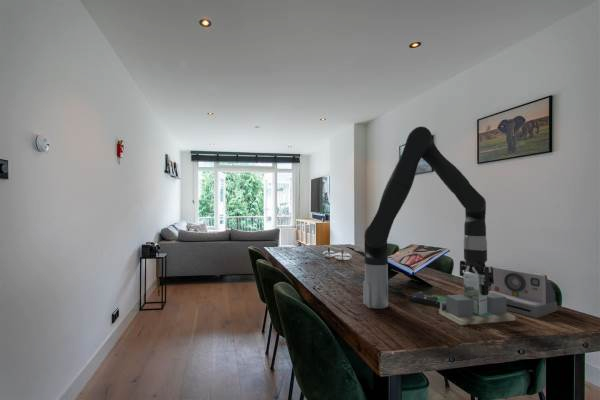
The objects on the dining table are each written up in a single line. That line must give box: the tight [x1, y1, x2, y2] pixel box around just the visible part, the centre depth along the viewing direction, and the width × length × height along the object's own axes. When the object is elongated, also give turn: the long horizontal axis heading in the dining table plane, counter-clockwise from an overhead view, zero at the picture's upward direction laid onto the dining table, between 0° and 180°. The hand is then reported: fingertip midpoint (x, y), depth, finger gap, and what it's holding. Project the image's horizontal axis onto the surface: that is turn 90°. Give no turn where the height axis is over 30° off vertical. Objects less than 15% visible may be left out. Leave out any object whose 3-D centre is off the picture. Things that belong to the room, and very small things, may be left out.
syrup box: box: [463, 271, 487, 315], centre depth 117 cm, size 6×6×14 cm
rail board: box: [438, 292, 516, 326], centre depth 117 cm, size 22×12×8 cm, turn 101°
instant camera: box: [489, 266, 558, 319], centre depth 128 cm, size 21×21×15 cm
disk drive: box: [408, 291, 446, 309], centre depth 136 cm, size 10×3×15 cm
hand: (475, 291), depth 117 cm, fingers open, 8 cm apart
